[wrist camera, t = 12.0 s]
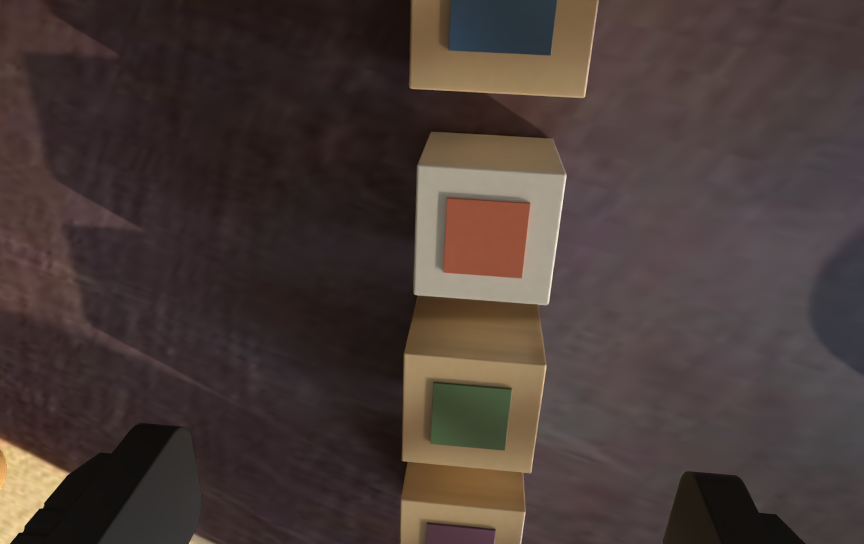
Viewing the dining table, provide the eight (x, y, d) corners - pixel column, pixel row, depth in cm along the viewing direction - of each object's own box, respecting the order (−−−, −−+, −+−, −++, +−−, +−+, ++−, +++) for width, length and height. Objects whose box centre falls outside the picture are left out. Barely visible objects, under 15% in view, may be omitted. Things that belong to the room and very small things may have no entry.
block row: (430, -95, 20) (412, -118, 15) (586, -90, 19) (615, -111, 15) (412, 496, 31) (398, 585, 26) (510, 505, 31) (513, 597, 26)
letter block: (430, 130, 23) (416, 165, 19) (553, 138, 23) (567, 174, 18) (426, 243, 25) (412, 296, 21) (539, 251, 25) (548, 307, 20)
